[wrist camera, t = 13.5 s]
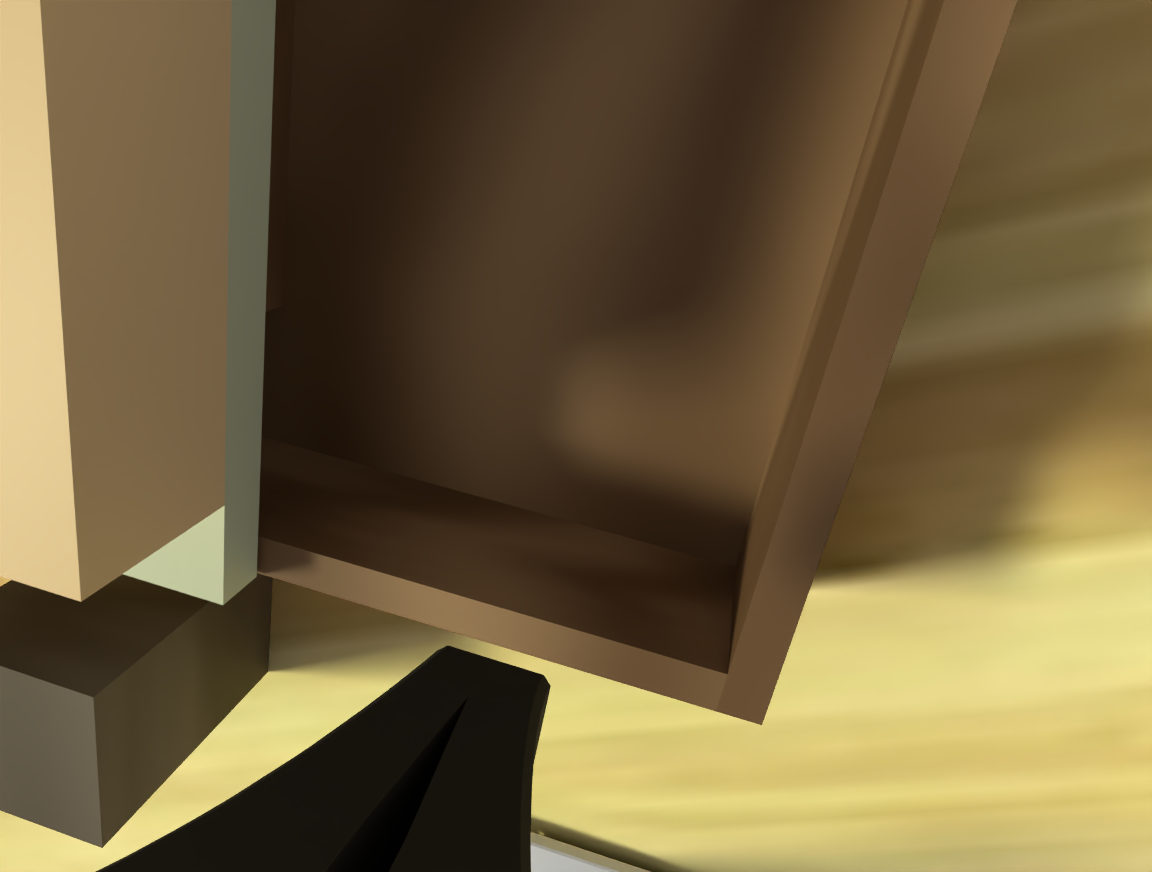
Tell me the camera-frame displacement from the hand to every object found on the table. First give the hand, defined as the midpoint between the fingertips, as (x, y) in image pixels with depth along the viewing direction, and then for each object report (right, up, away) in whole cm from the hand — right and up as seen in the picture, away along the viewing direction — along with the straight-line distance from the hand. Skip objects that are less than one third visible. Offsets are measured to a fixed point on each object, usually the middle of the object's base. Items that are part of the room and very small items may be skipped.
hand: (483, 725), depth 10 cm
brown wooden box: (-2, +9, +7) cm, 11 cm away
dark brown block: (-9, -1, +12) cm, 15 cm away
